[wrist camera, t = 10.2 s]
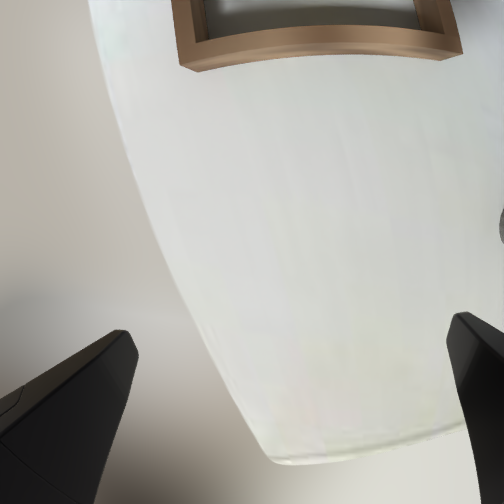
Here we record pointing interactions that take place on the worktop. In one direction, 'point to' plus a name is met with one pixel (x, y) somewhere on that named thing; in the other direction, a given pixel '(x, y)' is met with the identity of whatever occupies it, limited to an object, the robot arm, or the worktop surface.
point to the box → (314, 38)
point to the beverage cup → (502, 227)
